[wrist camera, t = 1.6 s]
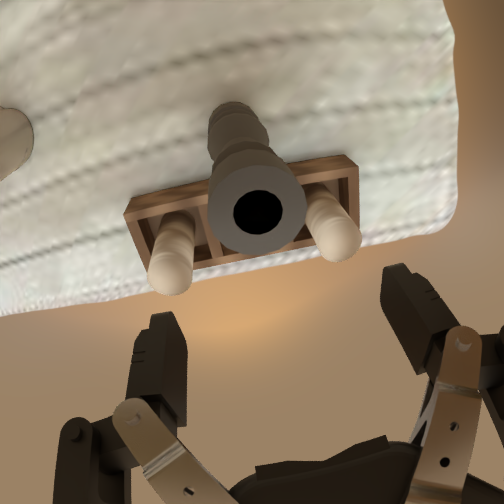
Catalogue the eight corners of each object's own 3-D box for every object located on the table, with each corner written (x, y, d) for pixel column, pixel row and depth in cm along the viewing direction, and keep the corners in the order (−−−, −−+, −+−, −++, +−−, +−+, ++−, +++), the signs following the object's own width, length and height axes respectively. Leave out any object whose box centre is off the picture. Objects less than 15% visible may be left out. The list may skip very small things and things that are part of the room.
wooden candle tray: (154, 258, 48) (141, 319, 38) (131, 198, 43) (106, 249, 32) (347, 219, 48) (382, 269, 38) (344, 154, 42) (387, 191, 32)
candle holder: (267, 121, 39) (333, 204, 18) (236, 157, 41) (263, 275, 21) (229, 92, 36) (251, 136, 16) (198, 129, 39) (180, 223, 18)
